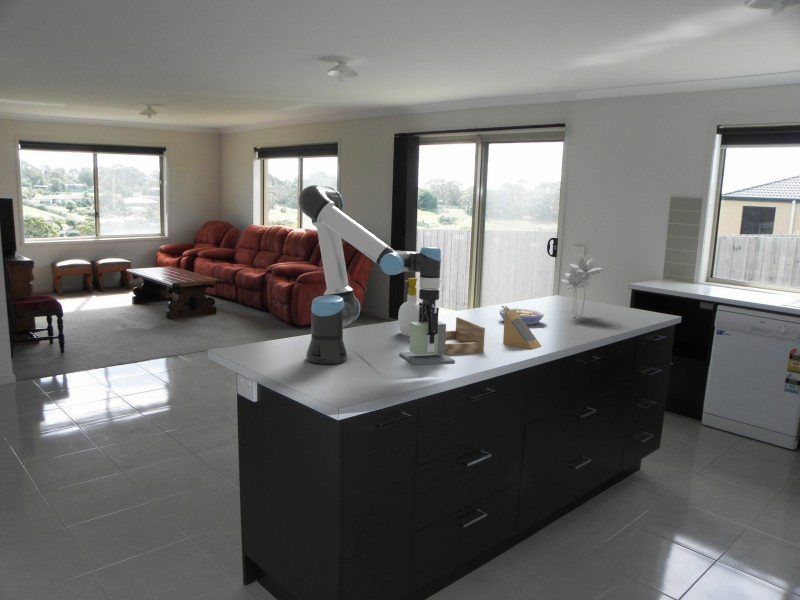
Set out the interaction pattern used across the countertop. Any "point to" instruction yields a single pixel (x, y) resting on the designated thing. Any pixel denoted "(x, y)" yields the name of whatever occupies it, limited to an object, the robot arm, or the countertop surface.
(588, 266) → the flower bouquet
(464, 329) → the wooden display shelf
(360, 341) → the countertop surface
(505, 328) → the sandwich container
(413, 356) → the slate mat
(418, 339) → the capped box
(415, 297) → the soap bottle
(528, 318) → the ramen bowl
